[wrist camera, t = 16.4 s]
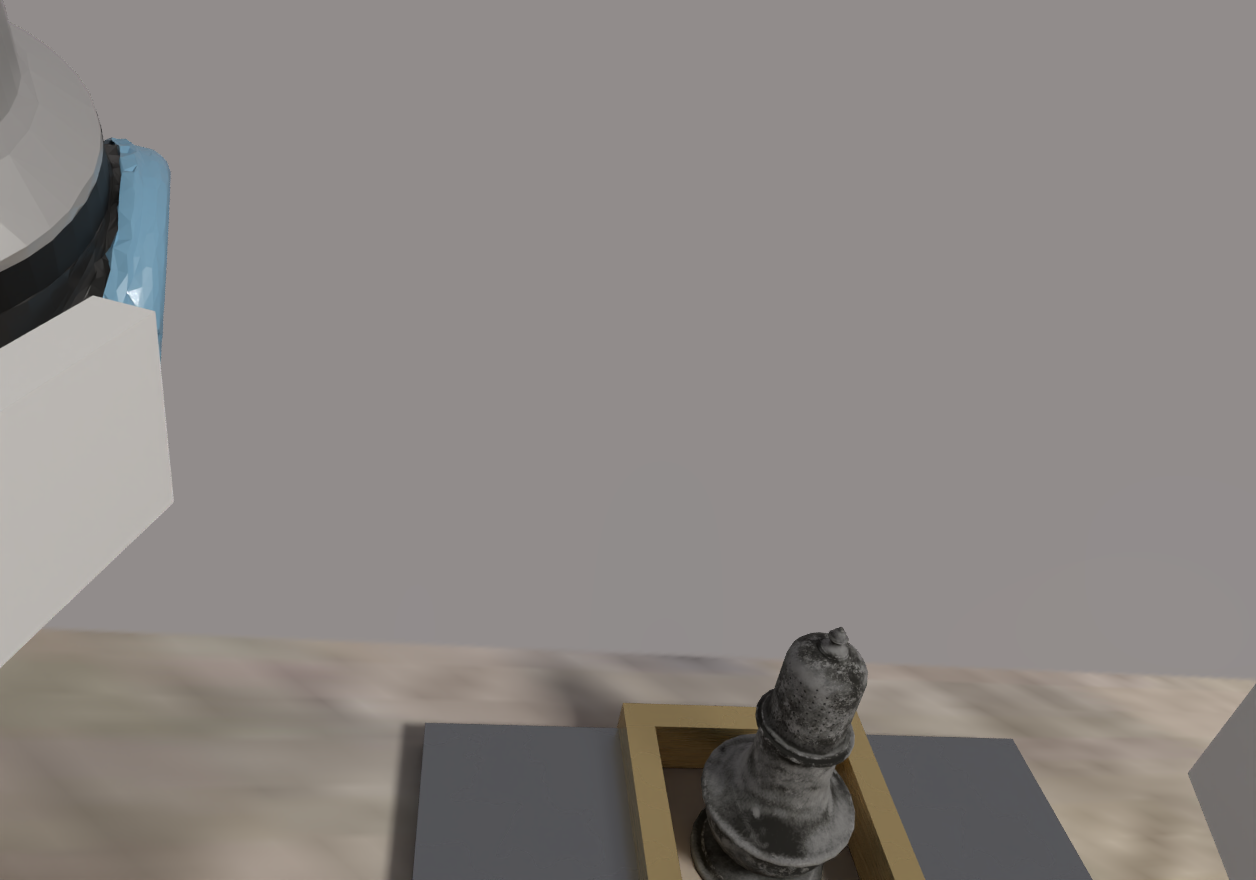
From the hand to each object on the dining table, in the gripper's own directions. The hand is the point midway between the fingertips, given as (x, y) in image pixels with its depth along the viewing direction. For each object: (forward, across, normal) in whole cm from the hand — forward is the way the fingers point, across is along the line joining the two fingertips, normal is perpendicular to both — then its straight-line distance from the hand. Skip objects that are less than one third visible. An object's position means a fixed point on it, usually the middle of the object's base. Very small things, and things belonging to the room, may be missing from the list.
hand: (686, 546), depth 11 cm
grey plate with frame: (+16, +6, -26) cm, 31 cm away
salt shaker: (+16, +6, -26) cm, 31 cm away
